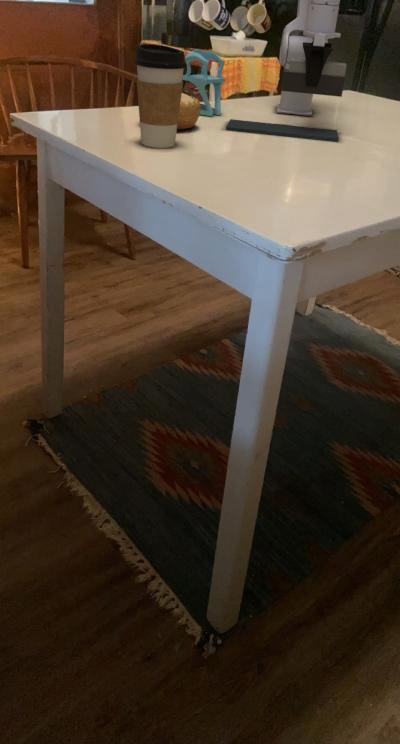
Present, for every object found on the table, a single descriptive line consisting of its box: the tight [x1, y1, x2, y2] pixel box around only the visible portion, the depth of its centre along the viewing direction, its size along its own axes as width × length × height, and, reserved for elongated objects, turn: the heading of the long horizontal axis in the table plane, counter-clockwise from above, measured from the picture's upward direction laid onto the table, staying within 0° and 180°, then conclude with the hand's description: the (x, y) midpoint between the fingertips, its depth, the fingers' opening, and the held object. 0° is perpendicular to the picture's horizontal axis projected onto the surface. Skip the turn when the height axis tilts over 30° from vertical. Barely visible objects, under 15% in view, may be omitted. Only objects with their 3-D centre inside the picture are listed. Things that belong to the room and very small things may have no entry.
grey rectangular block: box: [280, 58, 348, 98], centre depth 119 cm, size 12×4×6 cm, turn 82°
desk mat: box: [225, 118, 340, 143], centre depth 121 cm, size 8×22×1 cm, turn 81°
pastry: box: [177, 92, 201, 130], centre depth 116 cm, size 12×12×9 cm
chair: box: [182, 48, 226, 117], centre depth 129 cm, size 8×8×12 cm
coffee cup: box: [134, 43, 187, 149], centre depth 101 cm, size 8×8×15 cm
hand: (311, 84), depth 120 cm, fingers closed on grey rectangular block, 4 cm apart
